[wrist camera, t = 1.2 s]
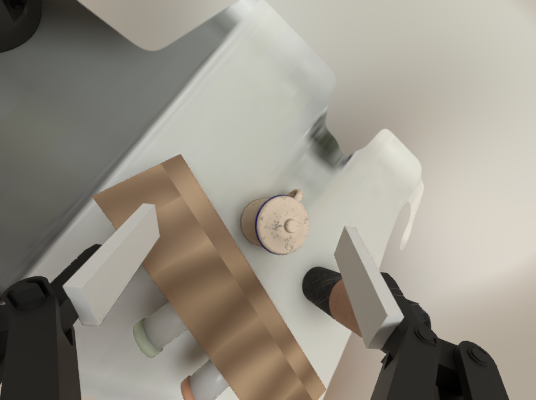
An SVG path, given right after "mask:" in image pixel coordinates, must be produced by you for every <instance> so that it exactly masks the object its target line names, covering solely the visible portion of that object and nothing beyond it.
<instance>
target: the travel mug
mask: <svg viewBox="0 0 536 400" xmlns="http://www.w3.org/2000/svg"><path fill="white" fill-rule="evenodd" d="M302 287H303V292H304V295H305V296H306V298H307V299H308V300H310V301H311V302H312V303H313V304H315V305H316V306H317V307H319V308H320V309H322V310H323V311H324V312H326V313H327V314H328V315H330V316H331V317H332V318H334V319H335V320H336V321H338V322H339V323H341V324H342V325H344V326H345V327H347V328H348V329H350V330H351V331H353V332H354V333H356V334H358V335H359V336H360V337H362V335H361V332H360V329H359V326H358V323H357V320H356V317H355V314H354V311H353V308H352V305H351V302H350V299H349V297H348V294H347V291H346V288H345V285H344V282H343V279H342V276H341V274H340V273H338V272H335V271H332V270H329V269H326V268H322V267H315V268H312V269H311V270H309V271H308V272H307V274H306V275H305V277H304V280H303V286H302ZM406 300H407V299H406ZM407 302H408V304H409V305H410V307H411V309H412V310H413V312H414V314H415V315H416V317H417V319H418V320H419V322H420V323H422V324H424V325H426V326H427V327H428V328H430V329H431V321H430V317H429V315H428V314H427V313H426V312H425V311H424V310H422V308H421V307H420V306H419V305H418V303H416V302H413V301H410V300H407ZM362 338H363V337H362ZM380 350H381V351H383V352H384V353H386V354H387V353H388V352H389V350H388V348H387V345H386V343H385V344H384V346H383V347H382V348H381V349H380Z"/></svg>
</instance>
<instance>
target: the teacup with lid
mask: <svg viewBox="0 0 536 400" xmlns="http://www.w3.org/2000/svg"><path fill="white" fill-rule="evenodd" d="M302 198H303V192H302V191H301V190H300V189H295V190H293V191H291V192H289V193H288V194H287V195H278V196H274V197H272V198H265V199H258V200H255V201H253V202H251V203H250V204H249V205H248V206H247V207H246V208H245V210H244V212H243V214H242V218H241V227H242V231H243V233H244V235H245V237H246V238H247V239H248V240H249V241H250V242H252V243H254V244H256V245H258V246H261V247H263V248H265V249H266V250H267V251H269V252H271V253H273V254H277V255H286V254H289V253H292V252H294V251H296V250H297V249H298V248H299V247H300V246H301V245H302V244H303V243H304V241H305V240H306V238H307V235H308V231H309V218H308V214H307V212H306V210H305V208H304V206H303V205H302V204H301V203H300V201H301V199H302Z"/></svg>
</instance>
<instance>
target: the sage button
mask: <svg viewBox="0 0 536 400" xmlns="http://www.w3.org/2000/svg"><path fill="white" fill-rule="evenodd" d="M186 329H187V327H186V325H185V324H184V322H183V321H182V320H181V318H180V317H179V315H178V314H177V313H176V311H175V310H174V309H173V307H172V306H171V304H170V303H169V302H168V303H167V304H166V305H164V306H163V307H161V308H160V309H159V310H157V311H156V312H154V313H153V314H152V315H150V316H149V317H148V318H143V319H142V320H141V321H139V322H138V323H136V324H135V325H134V327H133V332H134V337H135V339H136V342H137V344H138V346H139V347H140V349H141V350H142V352H143V353H144V354H145V355H146V356H148V357H149V358H153V357H155V356H156V355H157V354H158V353H160V352H161V351H162V350H163V347H165V346H166V345H167V344H168V343H170V342H171V341H172V340H173V339H175V338H176V337H177V336H178V335H180V334H181V333H182V332H183V331H185V330H186Z"/></svg>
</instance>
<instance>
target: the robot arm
mask: <svg viewBox="0 0 536 400" xmlns="http://www.w3.org/2000/svg"><path fill="white" fill-rule="evenodd" d="M40 16H41V6H40V1H39V0H0V52H2V51H6V50H9V49H12V48H14V47H16V46H18V45H20V44H22V43H23V42H25V41H26V40H27V39H28V38H29V37H30V36H31V35H32V34H33V33H34V32H35V30H36V28H37V26H38V24H39V21H40ZM159 237H160V235H159V228H158V222H157V215H156V209H155V205H154V204H145V203H143V204H142V205H141V206H140V207H139V208H138V209H137V210H136V211H135V212H134V213H133V214H132V215H131V216H130V217H129V218H128V219H127V220H126V222H125V223H124V224H123V225H122V226H121V227H120V228H119V229H118V230H117V231H116V232H115V233H114V234H113V235H112V236H111V237H110V238H109V239H108V240H107V241H106V242H105V243H104V244H103V245H100V244H95V245H93V246H91V247H90V248H88V249H86V250H85V251H84V252H83V253H82V254H81V255H79V256H78V257H77V259H75V260H74V261H73V262H72V263H71V265H69V266H68V267H67V268H66V269H65V270H64V271H63V272H62V273H61V274H60V275H59V276H58V277H57V278H55V279H54V280H53V281H52V282H51V283H49V282H48V280H47V278H45V277H42V276H34V277H30V278H26V279H23V280H21V281H19V282H17V283H15V284H13V285H12V286H10V287H9V288H8V289H7V290H6V291H5V292H4V293H3V295H2V297H1V298H2V299H3V301H4V302H5V303H6V304H4V305H0V384H1V382H2V387H1V395H0V400H81V391H80V381H79V371H78V361H77V351H76V341H75V331H74V327H73V324H74V323H75V321H76V320H77V319H78V317H79V319H80V321H81V323H82V325H92V326H99V325H100V324H101V322H102V321H103V319H104V318H105V316H106V315H107V313H108V312H109V310H110V309H111V307H112V306H113V305H114V303H115V302H116V300H117V299H118V297H119V296H120V294H121V293H122V291H123V290H124V288H125V287H126V285H127V284H128V282H129V281H130V279H131V278H132V277H133V275H134V274H135V272H136V271H137V269H138V268H139V266H140V265H141V263H142V262H143V260H144V259H145V257H146V256H147V254H148V253H149V251H150V250H151V249H152V247H153V246H154V244H155V243H156V241H157V240H158V238H159ZM334 256H335V259H336V262H337V264H338V267H339V270H340V273H341V276H342V279H343V282H344V285H345V288H346V291H347V294H348V297H349V299H350V302H351V305H352V308H353V311H354V314H355V317H356V320H357V323H358V326H359V329H360V332H361V335H362V337H363V340H364V343H365V346H366V348H370V349H381V348H382V347H383V346H384V344H385V343H386V345H387V348H388V350H389V352H388V353H387V354H386V356H385V357H384V358H383V360H382V361H381V363H383V366H382V369H381V372H380V374H379V377H378V380H377V383H376V385H375V389H374V391H373V394H372V397H371V400H509V398H508V395H507V393H506V390H505V387H504V385H503V382H502V379H501V376H500V374H499V371H498V369H497V366H496V364H495V362H494V360H493V359H492V357H491V356H490V355H489V354H488V353H487V352H486V351H484V349H482V348H481V347H479V346H478V345H476V344H475V343H472V342H469V341H462V342H461V343H460V344H459V345H458V346H457V345H455V344H452V343H450V342H447V341H444V340H442V339H439V338H438V337H437V335H436V334H435V333H434V332H433V331H432V330H431V329H430V328H428V327H427V326H426V325H424V324H422V323H420V322H419V320H418V319H417V317H416V315H415V314H414V312H413V310H412V309H411V307H410V305H409V304H408V302H407V300H406V298H405V297H404V296H403V293H402V292H401V290H400V289H399V287H398V285H397V283H396V282H395V280H394V279H393V278H392V277H391V276H390V275H389V274H388V273H383V272H379V270H378V268H377V266H376V264H375V262H374V260H373V259H372V257H371V255H370V253H369V251H368V249H367V247H366V246H365V244H364V242H363V240H362V238H361V236H360V234H359V233H358V231H357V229H356V227H352V226H344V229H343V232H342V235H341V237H340V240H339V243H338V245H337V248H336V251H335V253H334Z"/></svg>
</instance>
